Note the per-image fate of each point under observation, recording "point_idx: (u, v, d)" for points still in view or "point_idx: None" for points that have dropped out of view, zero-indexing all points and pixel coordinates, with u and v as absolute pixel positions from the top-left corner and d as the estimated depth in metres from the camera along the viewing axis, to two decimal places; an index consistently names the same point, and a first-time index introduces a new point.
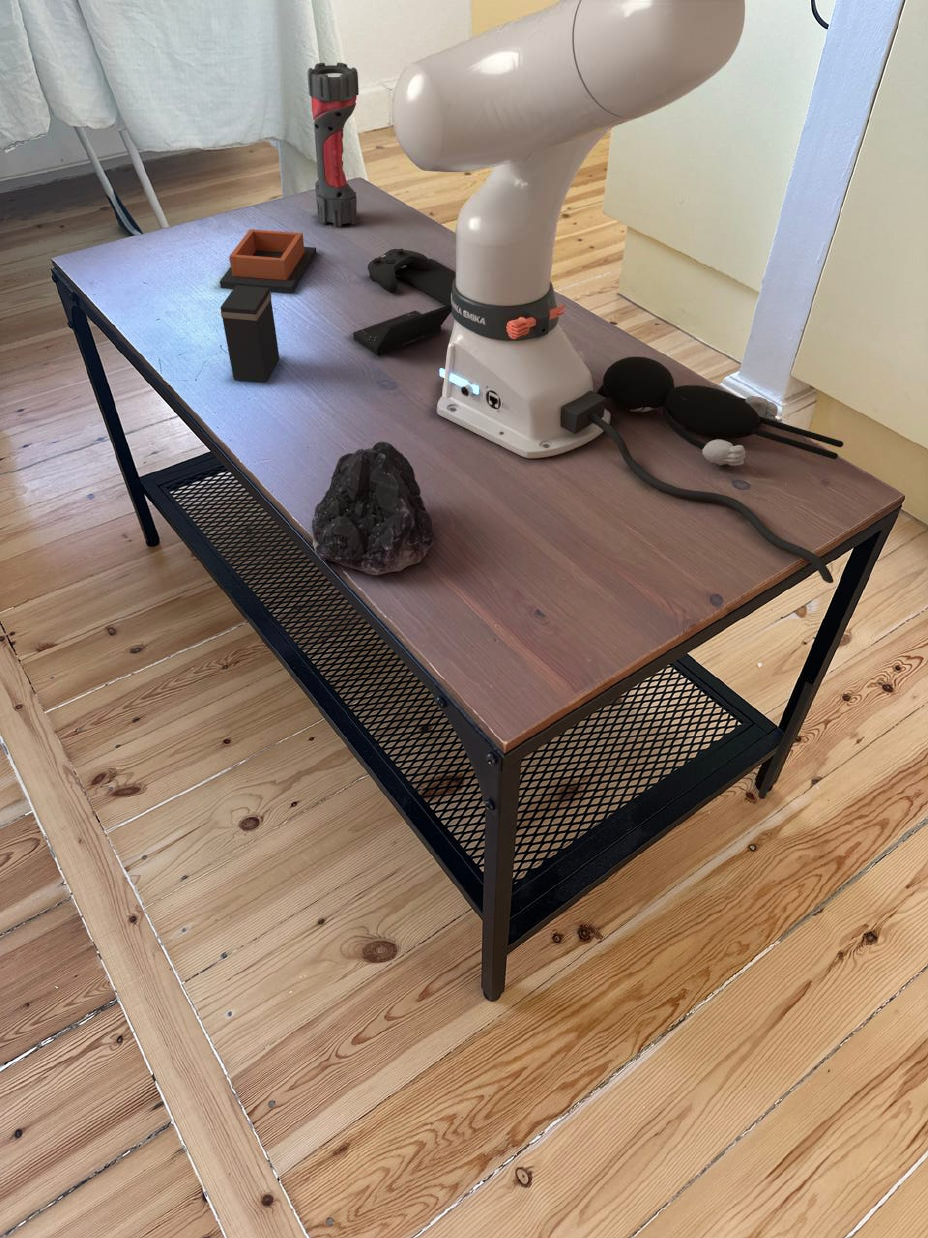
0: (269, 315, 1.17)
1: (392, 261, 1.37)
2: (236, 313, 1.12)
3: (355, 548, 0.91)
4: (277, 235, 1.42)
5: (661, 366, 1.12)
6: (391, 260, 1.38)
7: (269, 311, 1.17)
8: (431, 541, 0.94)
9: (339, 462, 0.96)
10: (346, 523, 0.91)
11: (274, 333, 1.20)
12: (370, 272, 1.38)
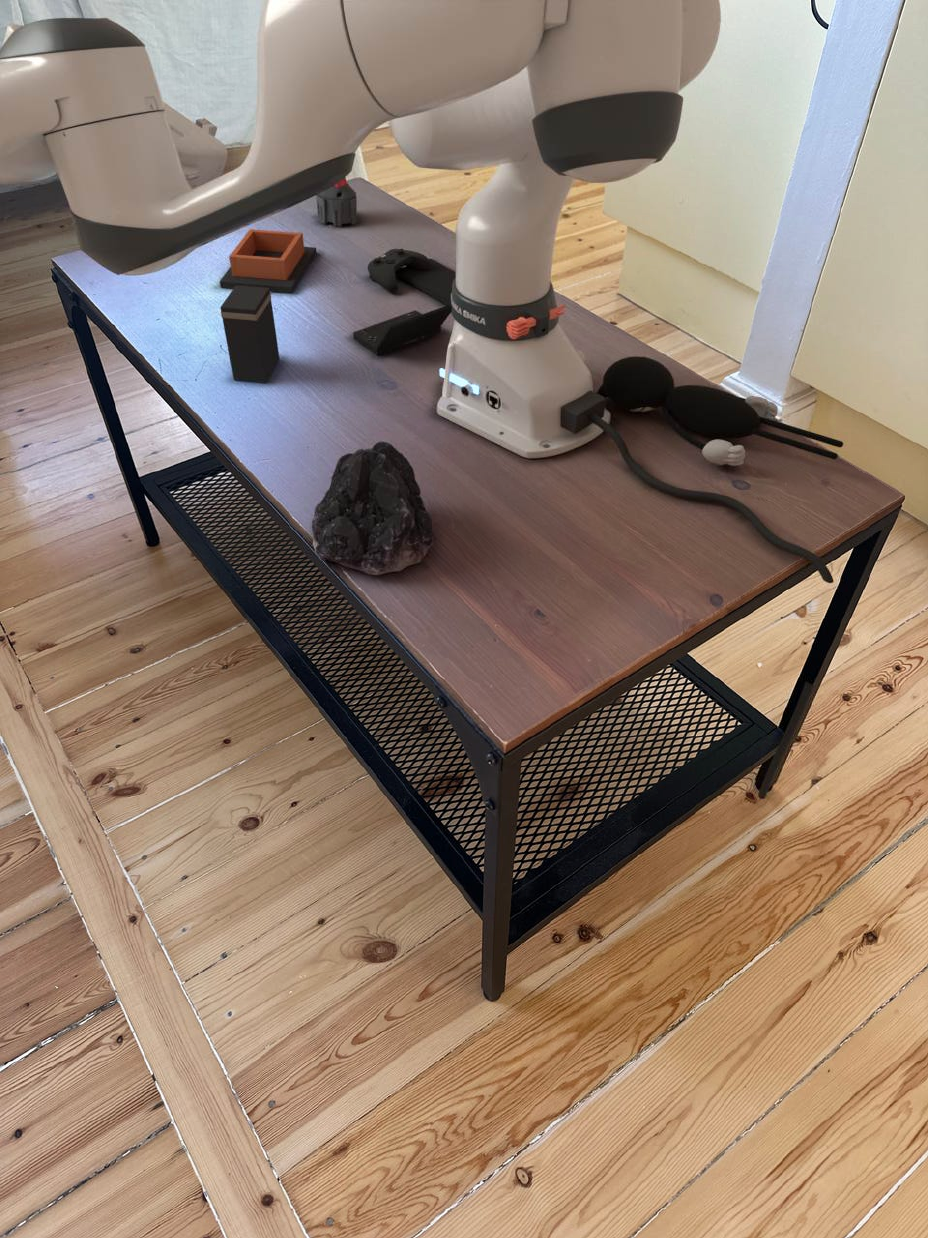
0: (269, 315, 1.17)
1: (392, 261, 1.37)
2: (236, 313, 1.12)
3: (355, 548, 0.91)
4: (277, 235, 1.42)
5: (661, 366, 1.12)
6: (391, 260, 1.38)
7: (269, 311, 1.17)
8: (431, 541, 0.94)
9: (339, 462, 0.96)
10: (345, 523, 0.91)
11: (274, 333, 1.20)
12: (370, 272, 1.38)
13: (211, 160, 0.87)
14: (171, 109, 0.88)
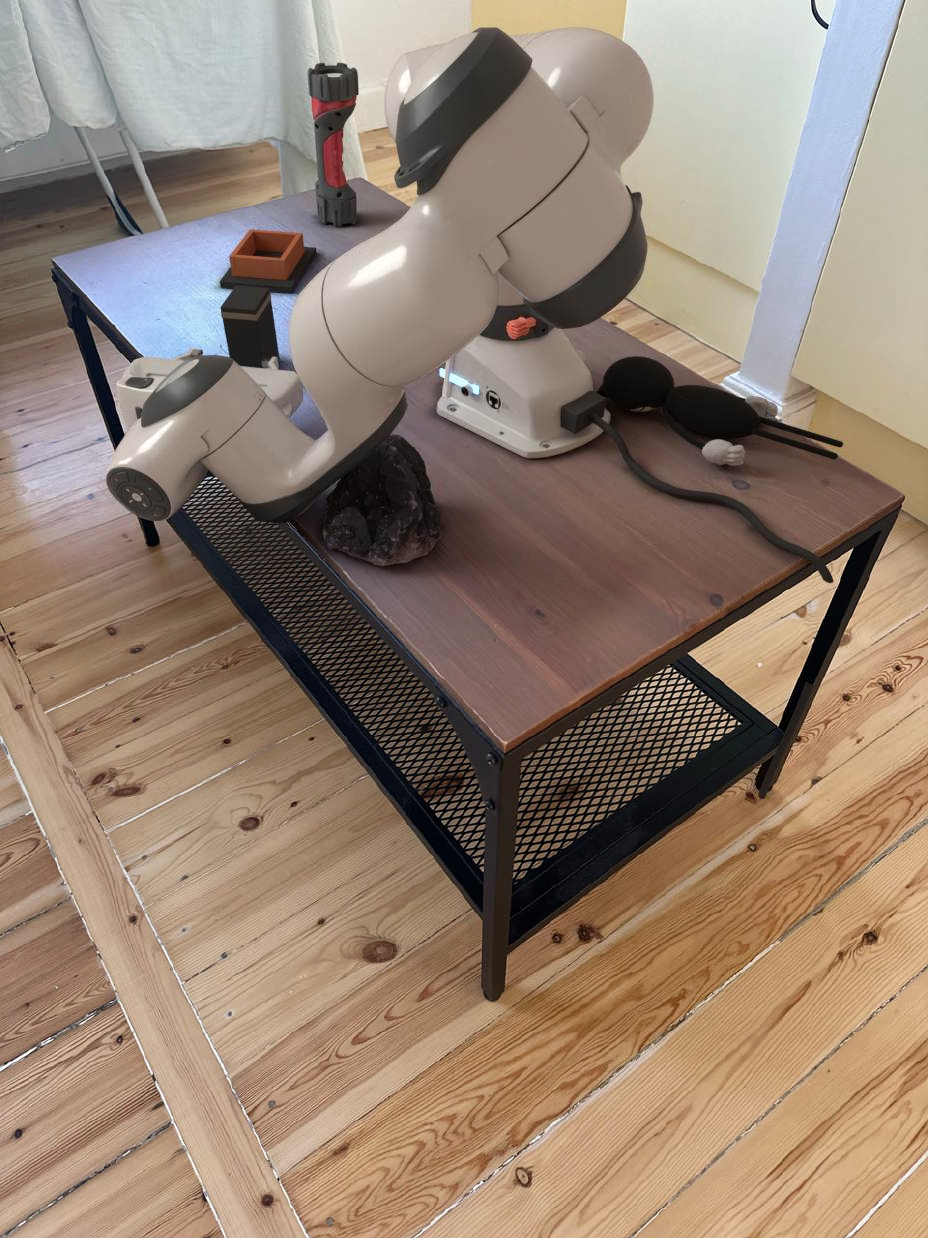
0: (269, 315, 1.17)
1: None
2: (236, 313, 1.12)
3: (362, 539, 0.92)
4: (277, 235, 1.42)
5: (661, 366, 1.12)
6: None
7: (269, 311, 1.17)
8: (439, 534, 0.95)
9: None
10: (354, 513, 0.92)
11: (274, 333, 1.20)
12: None
13: (294, 391, 1.06)
14: (245, 368, 1.07)
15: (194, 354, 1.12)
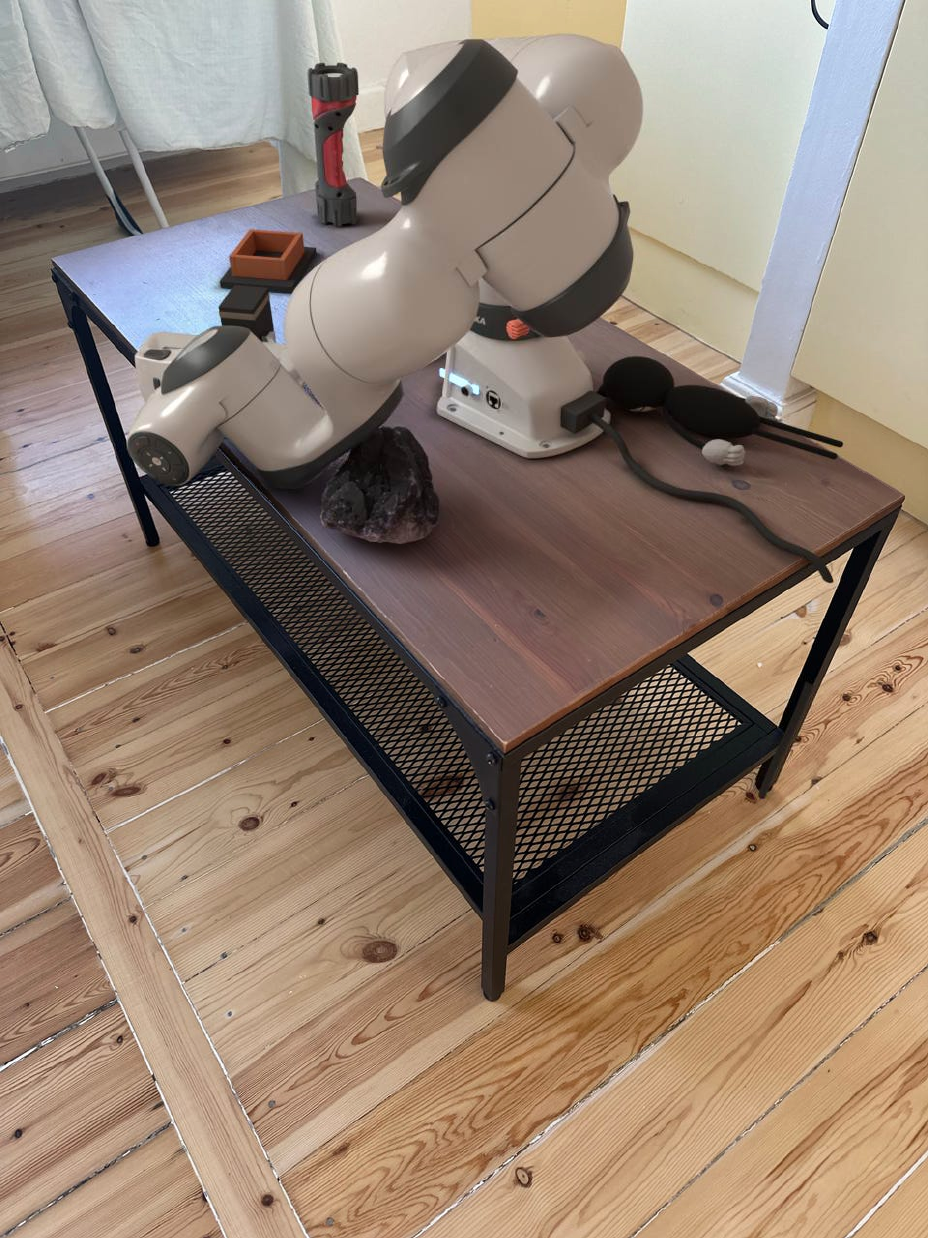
0: (268, 315, 1.17)
1: None
2: (234, 313, 1.12)
3: (359, 513, 0.92)
4: (277, 235, 1.42)
5: (661, 366, 1.12)
6: None
7: (267, 311, 1.17)
8: (436, 520, 0.94)
9: None
10: (353, 488, 0.92)
11: None
12: None
13: None
14: None
15: None
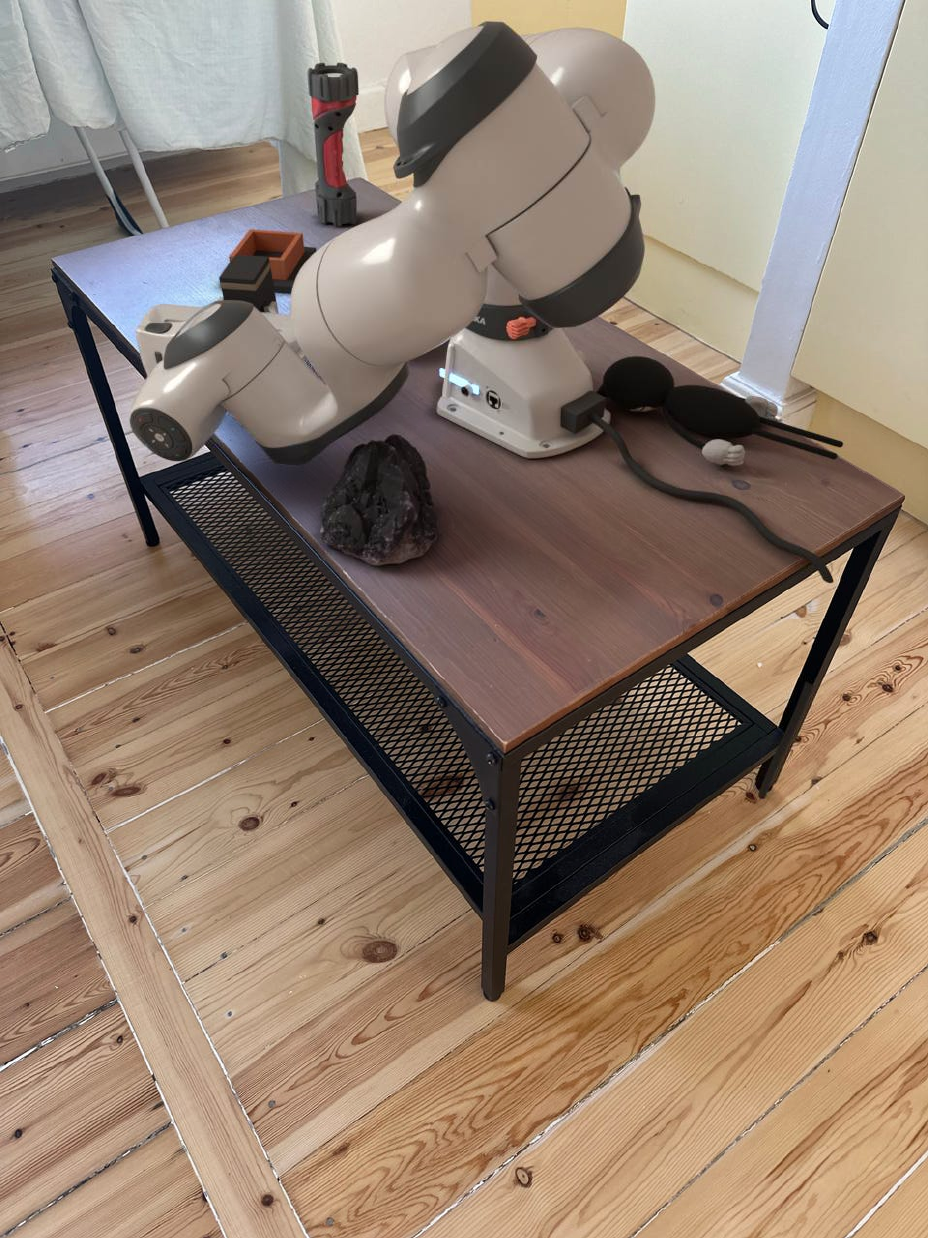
0: (269, 285, 1.16)
1: None
2: (235, 283, 1.11)
3: (357, 538, 0.93)
4: (277, 235, 1.42)
5: (661, 366, 1.12)
6: None
7: (269, 281, 1.16)
8: (435, 536, 0.95)
9: (352, 452, 0.97)
10: (350, 511, 0.93)
11: None
12: None
13: None
14: None
15: None
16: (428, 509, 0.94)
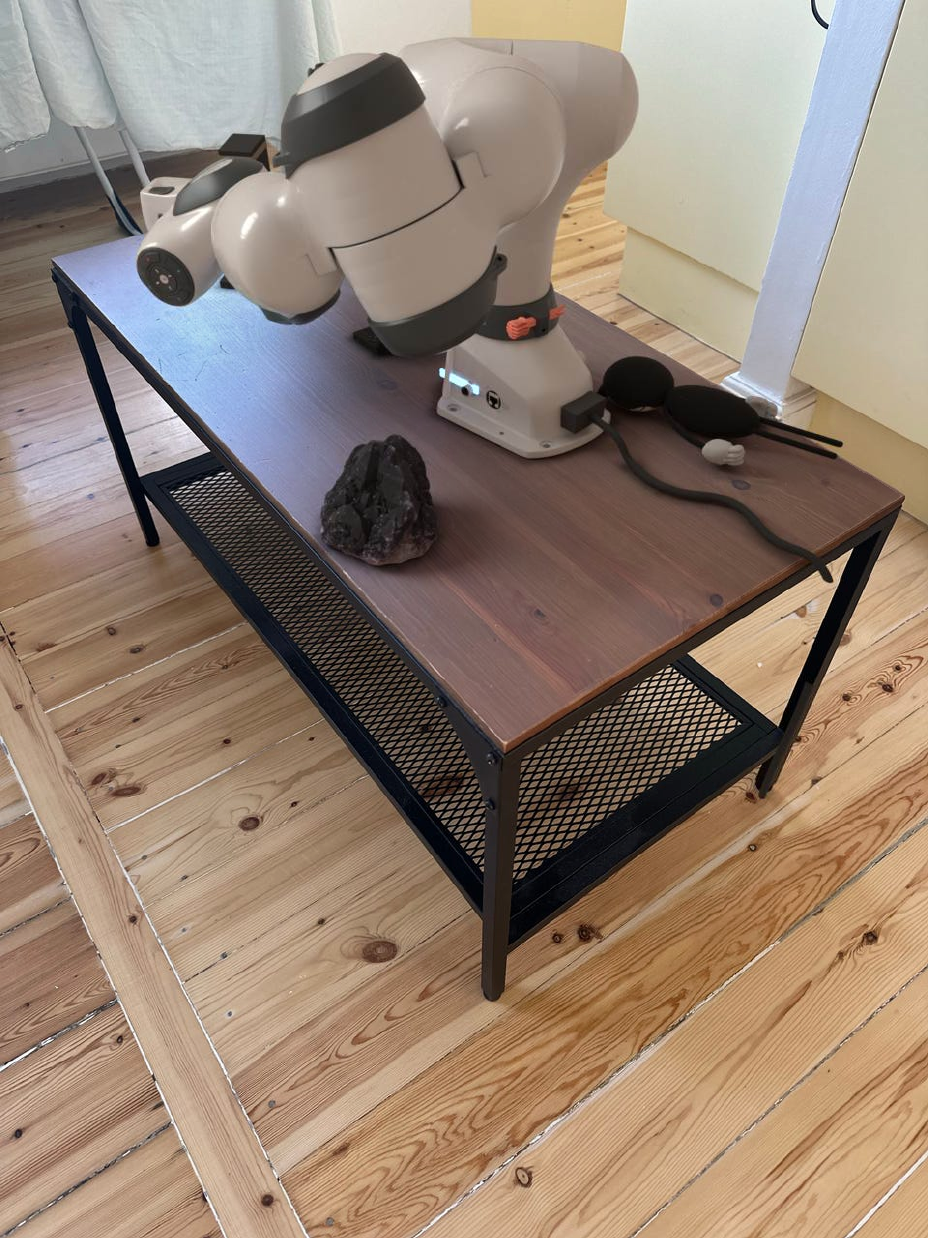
0: (265, 162, 1.23)
1: None
2: None
3: (357, 537, 0.93)
4: None
5: (661, 366, 1.12)
6: None
7: (265, 158, 1.22)
8: (435, 536, 0.95)
9: (352, 452, 0.97)
10: (350, 511, 0.93)
11: None
12: None
13: None
14: None
15: None
16: (428, 509, 0.94)
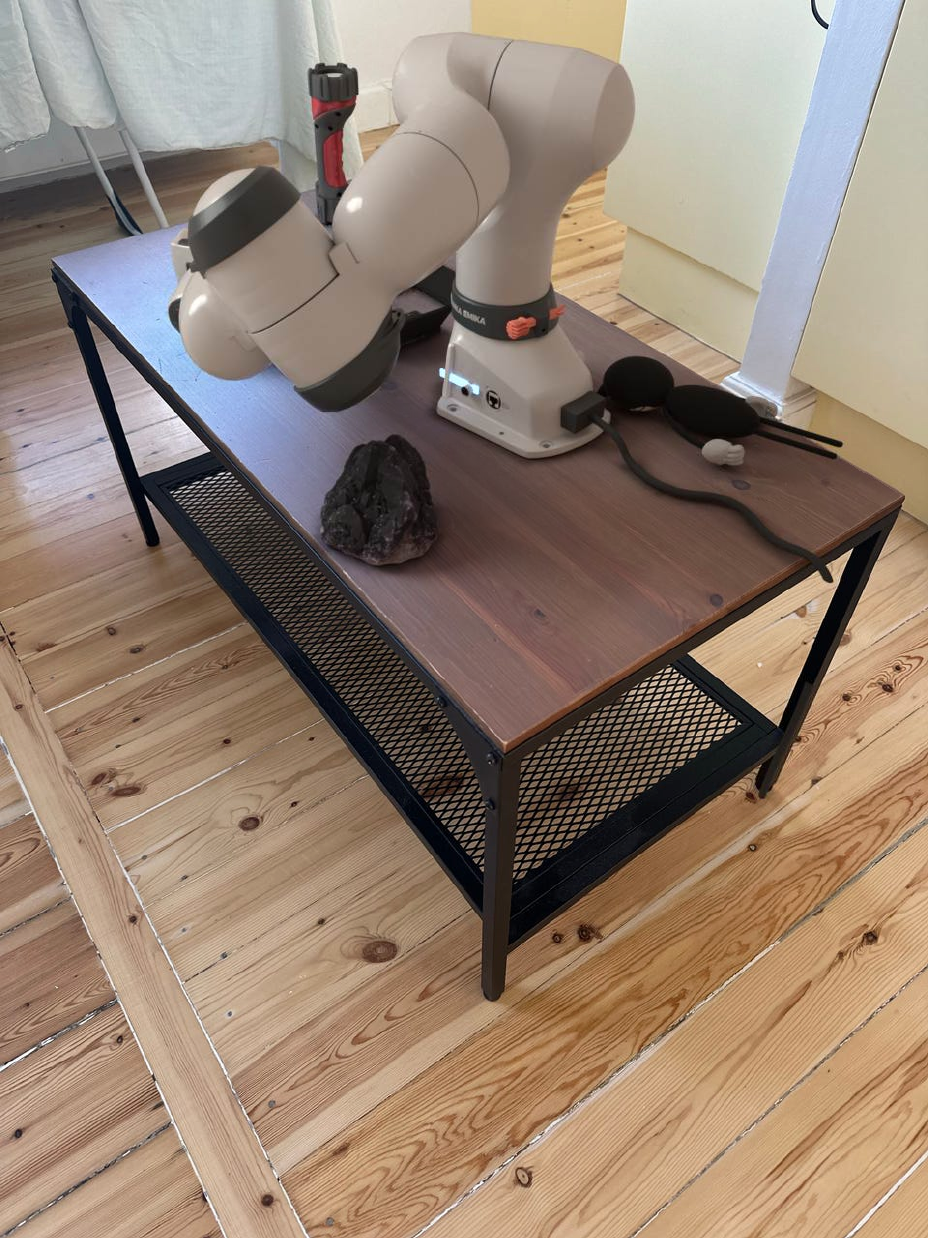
0: None
1: None
2: None
3: (357, 537, 0.93)
4: None
5: (661, 365, 1.12)
6: None
7: None
8: (435, 536, 0.95)
9: (352, 452, 0.97)
10: (350, 511, 0.93)
11: None
12: None
13: None
14: None
15: None
16: (428, 509, 0.94)
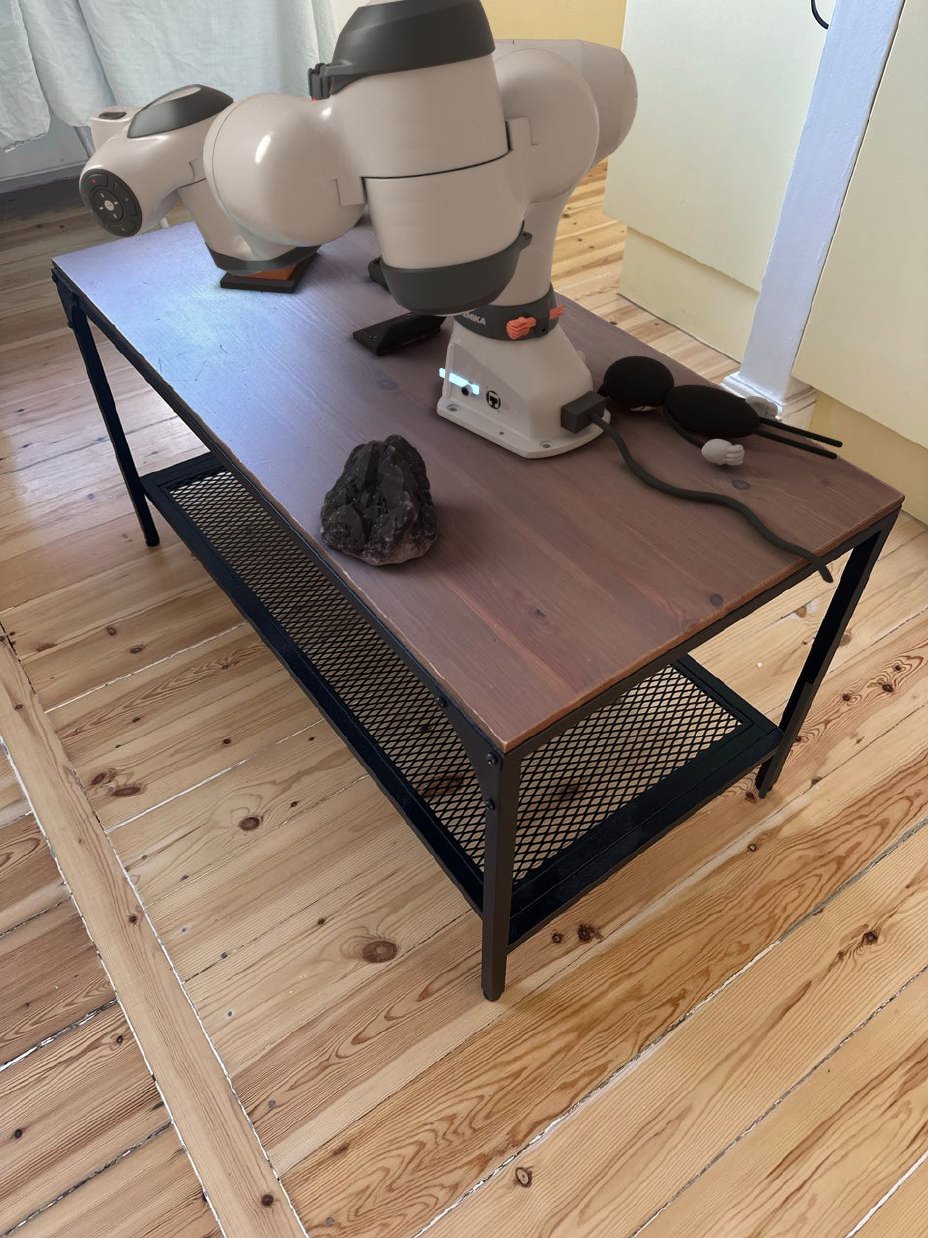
0: None
1: None
2: None
3: (357, 538, 0.93)
4: None
5: (661, 365, 1.12)
6: None
7: None
8: (435, 536, 0.95)
9: (352, 452, 0.97)
10: (350, 511, 0.93)
11: None
12: (370, 272, 1.38)
13: None
14: None
15: None
16: (428, 509, 0.94)
